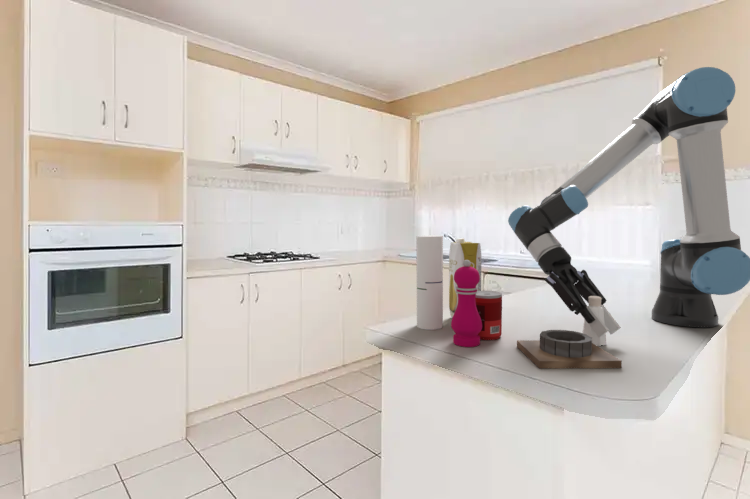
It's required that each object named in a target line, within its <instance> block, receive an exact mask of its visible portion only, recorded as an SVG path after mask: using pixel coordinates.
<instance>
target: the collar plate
mask: <svg viewBox="0 0 750 499" xmlns="http://www.w3.org/2000/svg"><path fill="white" fill-rule="evenodd" d="M516 348H518V349H519V351H521V353H523V354H524V355H525V356H526V357H527V358H528V359H529V360H530V361H531V362H532V363H533V364H534V365H535V366H536V367H537V368H538V369H622V366H623V363H622V362H623V361H622V360H621V359H620V358H618V357H617V356H614V355H613V354H611V353H610V352H608V351H606V350H604V349H603V348H601V346H596V345H595V344H593V343H592V337H590V336H588V335H587V334H583V332H579V331H574V330H567V329H547V330H542V331H541V332H540V334H539V340H538V339H537V340H535V339H532V340H530V339H529V340H527V339H525V340H521V339H520V340H516Z"/></svg>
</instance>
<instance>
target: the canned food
mask: <svg viewBox="0 0 750 499" xmlns="http://www.w3.org/2000/svg"><path fill="white" fill-rule="evenodd" d="M477 292H478V293H477V294H476V297H475V302H476V308H477V311H478V313H479V315H480V318H481V321H482V330H481V331H480V332H479V333H478V335H479V336H480V341H481V340H482V341H495V340H499V339H500V338H501V336H502V334H503V333H502V328H503V327H502V325H503V322H502V321H503V313H502V312H503V294H502V292H500V291H496V290H495V291H494V290H481V291H477Z"/></svg>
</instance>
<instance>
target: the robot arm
mask: <svg viewBox="0 0 750 499" xmlns="http://www.w3.org/2000/svg"><path fill="white" fill-rule="evenodd" d="M735 94H736V83H735V81H734V80H733V77H731V75H730V74H729V73H728V72H726V71H724V70H723V69H720V68H718V67H714V66H713V67H712V66H711V67H710V66H703V67H698V68H694V69H693V70H690V71H689V72H686V73H684V74H682V75H681V76H680V77H678V78H677V79H675V81H674V82H672V83H671V84H669V85H668V86H666V87H665V88H663V90H661V91H660V92H659V93H658V94H657V95H656V96H655V97H654V98H653V99H652V100H651V102H650V103H649V104H648V105H646V107H645V108H644V109H643V110H642V111H641V112H640V113H639V114H638V115H636V116H635V117H633V119H632V121H631V125H630V126H629V127H628V128H627V129H626V130H625V131H623V132H622V133H621V134H620V135H618V136H617V137H616V138H615V139H614V140H612V142H610V143H609V144H608V145H607V146H605V148H603V149H602V150H601V151H600V152H598V153H597V155H595V156H594V157H593V158H591V159H590V160H589V161H588V162H587V163H585V165H583V166H582V167H581V168H580V169H579V170H578V171H576V172H575V173H574V174H573V175H572V176H570V177H569V178H568V179H567V180H565V181H564V183H562V184H561V185H560V186H559V187H558V188H557V189H555V190H554V191H553V192H552V193H551V194H550V195H548V196H546V197H544V199H542V200H541V202H540V204H539V205H538V206H535V207H534V208H533V207H531V206H530V205H521V207H516V208H515V209H514V210H513V211H512V212H511V213H510V215H509V216H508V218H507V219H508V220H507V222H508V225H509V227H510V229H511V230H512V231H513V233H514V234H515V235H516V237H517V238H518V240H519V241H520V242H521V243H522V246H524V248H525V249H526V250H527V251H528V252H529V254H530V256H532V258H533V259H534V261H535V262H536V263H537V265H538V266H539V269H541V270H542V272H543V273H544V275H547V277H546V278H545V279H544V281H545V283H546V284H548V285H549V286H550V287H551V288H552V289H553V290H554V292H555V293H556V295H557V296H558V297H559V298H560V300H562V302H563V303H564V304H565V306H566V307H567V308H568V310H569V311H570V312H573V313H574V314H575V315H577V316H578V315H579V314H580V315H581V317H582V318H583V320H584V319H585V320H586V322H587V323H588V324H589V325H590V326H591V328H592V329H593V330H594V332H595V333H596V334H597V335H598V337H601V336H602V335H604V334H605V333H609V335H613V334H615V333H617V331H618V330H620V329H621V328H622V327H621V326H620V324H619V323H618V322H617V321H616V320H615V318H614V317H613V316H612V315H611V313H610V312H609V311H608V309H607V308H606V306H604V304H605V303H606V302H607V299H606V298H605V296H604V295H603V294H602V291H600V290H599V288H598V287H597V286H596V285H595V283H594V282H593V280H591V278H590V276H589V274H588V272H587V271H586V270H585V269H582V270H581V271H580V270H578V269H577V268H576V267H574V266H573V264H572V257H571V254H569V252H568V251H567V250H566V249H565V248H564V246H562V244H561V242H560V241H559V240H558V239H557V238H556V236H555V235H554V234H553V233H552V231H553V230H554V229H556V228H558V227H559V226H561V225H563V224H564V223H565V222H567V221H569V220H571V219H572V218H574V217H576V216H577V215H579V214H580V213H581V212H583V211H585V210H586V209H587V208H588V206H589V202H588V199H587V198H588V197H590V196H591V195H592V194H594V193H595V192H596V191H597V190H598V189H600V188H601V187H602V186H603V185H604V184H605V183H607V182H608V181H610V179H612V178H613V177H614V176H616V175H617V174H618V173H619V172H620V171H622V170H623V169H624V168H625V167H627V166H628V164H630V163H631V162H632V161H633V160H634V159H636V158H637V157H638V156H640V155H641V154H642V153H643V152H644V151H645V150H647V149H648V148H650V147H651V146H652V145H658V144H660V143H662V141H664V140H665V139H667V138H668V137H669V136H670V137H672V138H674V139H675V140H676V147H677V157H678V165H679V175H680V184H681V193H682V201H683V212H684V222H685V232H686V234H685V235H684V236H683V237H682V238H679V239H678V238H677V239H676V238H675V239H667V240H664V241H663V243H662V244H661V250H660V271H659V272H660V273H659V274H660V276H659V294H658V295H657V298H656V300H655V302H654V304H653V308H652V310H651V319H652V320H654V321H656V322H659V323H662V324H663V323H664V324H667V325H671V326H679V327H687V328H688V327H689V328H714V327H718V326H719V315H718V312H717V308H716V307H715V304H714V301H713V299H712V295H715V296H717V295H718V296H725V295H726V296H727V295H731V294H735V293H737V292H738V291H741V290H742V289H744V288H745V286H747V285H748V284H749V282H750V256H749V255H748V254H746V252H744V251H743V250H742V247H741V237H740V235H739V234H736V233H735V232H734V231H732V229H731V222H730V210H729V204H728V202H729V201H728V193H727V182H726V172H725V162H724V152H723V142H722V130H723V129H724V127H726V125H727V124H728V123H729V119H728V118H729V117H728V109H727V108H728V107H729V106H730V105H731V103H732V101H733V100H734V99H735ZM589 296H599V297H601V298H602V300H601V307H602V308H603V310H604V321H605V324H604V323H603V322H602V320H601V319H600V318H599V317H598V315H597V314H596V313H595V311H594V310H593V309H592V308H591V306H590V307H588V308H586V307H587V306H588V304H587V303H588V302H589V299H588V297H589Z"/></svg>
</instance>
